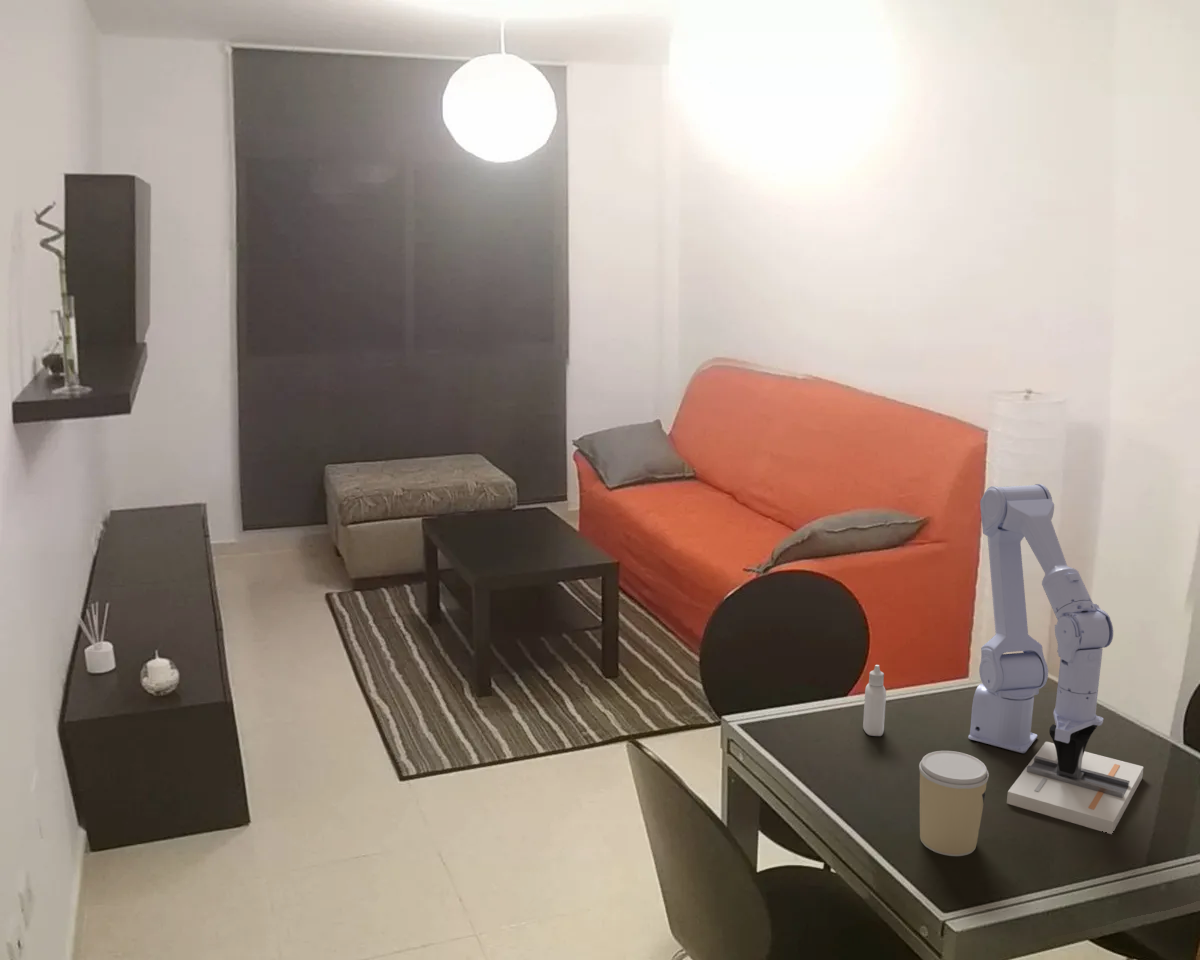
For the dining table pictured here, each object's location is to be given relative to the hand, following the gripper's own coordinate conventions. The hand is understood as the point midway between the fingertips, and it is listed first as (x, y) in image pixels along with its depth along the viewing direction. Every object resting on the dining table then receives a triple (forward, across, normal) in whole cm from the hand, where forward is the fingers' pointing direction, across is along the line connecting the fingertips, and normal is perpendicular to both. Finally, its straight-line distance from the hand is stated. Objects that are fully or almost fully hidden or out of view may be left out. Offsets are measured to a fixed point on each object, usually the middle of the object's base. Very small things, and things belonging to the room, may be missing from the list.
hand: (1069, 768), depth 175 cm
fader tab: (+1, 0, 0) cm, 1 cm away
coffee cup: (+4, -26, +10) cm, 28 cm away
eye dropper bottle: (+4, +1, +33) cm, 33 cm away
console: (+3, 0, -1) cm, 4 cm away
